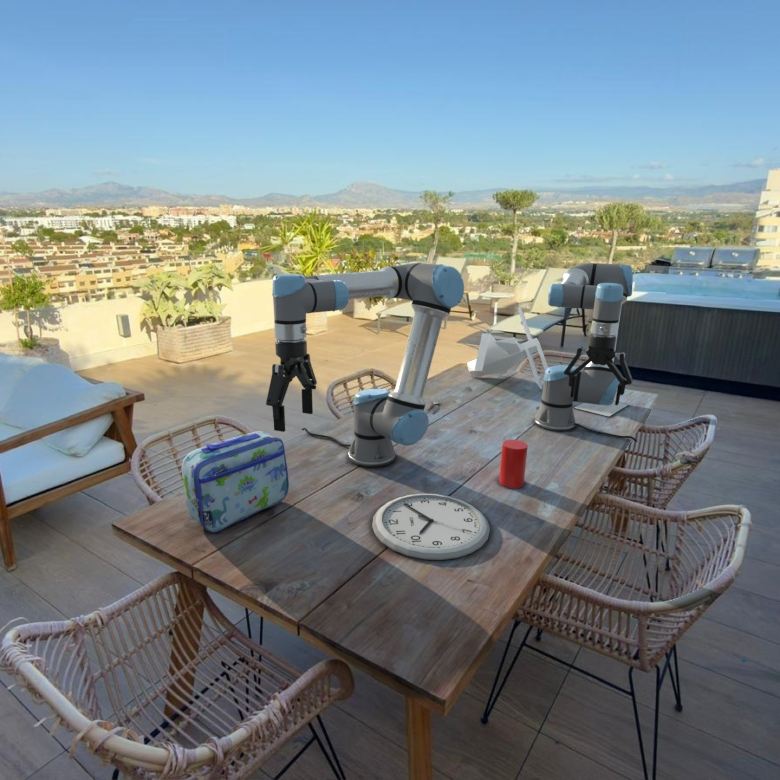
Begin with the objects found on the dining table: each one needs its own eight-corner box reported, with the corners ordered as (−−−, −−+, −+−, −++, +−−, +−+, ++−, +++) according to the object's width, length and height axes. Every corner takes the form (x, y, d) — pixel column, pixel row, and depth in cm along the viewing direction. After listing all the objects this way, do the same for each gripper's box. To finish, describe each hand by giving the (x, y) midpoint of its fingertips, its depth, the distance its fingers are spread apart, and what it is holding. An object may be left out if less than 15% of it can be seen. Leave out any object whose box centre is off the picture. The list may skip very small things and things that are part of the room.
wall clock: (505, 551, 121) (375, 556, 118) (504, 557, 121) (375, 562, 119) (474, 489, 149) (369, 491, 147) (474, 494, 150) (369, 497, 147)
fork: (425, 411, 216) (425, 407, 215) (435, 400, 230) (435, 396, 230) (431, 412, 215) (431, 408, 214) (441, 401, 229) (441, 396, 229)
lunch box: (202, 541, 125) (194, 461, 119) (183, 523, 133) (174, 447, 126) (293, 503, 143) (290, 432, 137) (271, 490, 150) (268, 421, 144)
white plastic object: (487, 418, 267) (468, 395, 242) (469, 346, 289) (449, 318, 264) (558, 394, 255) (545, 368, 230) (533, 321, 277) (518, 289, 252)
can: (522, 490, 153) (526, 450, 149) (497, 485, 155) (500, 446, 152) (525, 479, 159) (529, 441, 156) (501, 475, 162) (504, 438, 158)
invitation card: (608, 416, 214) (573, 407, 224) (608, 416, 214) (573, 408, 224) (628, 404, 229) (594, 396, 238) (628, 405, 229) (594, 397, 238)
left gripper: (275, 351, 114) (280, 441, 121) (328, 331, 137) (329, 408, 143) (247, 348, 117) (252, 436, 123) (303, 329, 139) (305, 404, 145)
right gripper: (559, 332, 163) (551, 396, 170) (646, 342, 151) (634, 411, 158) (565, 328, 169) (557, 389, 176) (649, 337, 157) (638, 403, 164)
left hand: (294, 421), depth 133 cm, fingers open, 13 cm apart
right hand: (594, 400), depth 167 cm, fingers open, 13 cm apart
